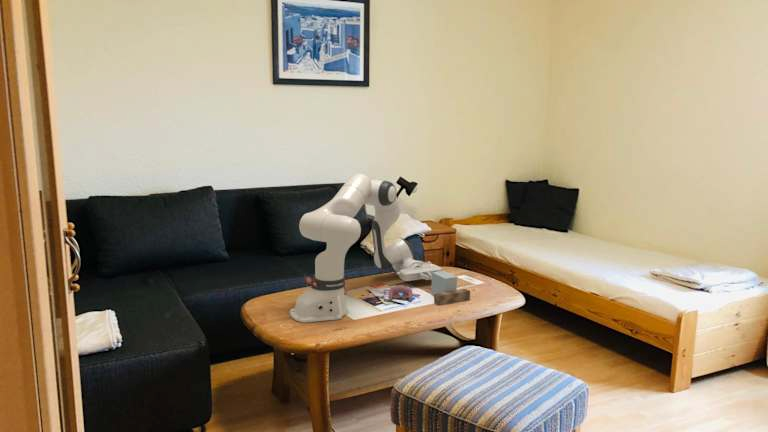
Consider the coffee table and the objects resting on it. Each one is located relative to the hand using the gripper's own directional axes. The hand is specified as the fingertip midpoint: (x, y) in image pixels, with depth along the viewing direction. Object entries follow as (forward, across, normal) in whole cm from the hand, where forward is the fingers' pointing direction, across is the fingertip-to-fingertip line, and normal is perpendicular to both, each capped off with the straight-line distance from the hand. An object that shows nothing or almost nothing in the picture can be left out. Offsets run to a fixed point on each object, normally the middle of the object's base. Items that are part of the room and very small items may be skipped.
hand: (429, 277), depth 253 cm
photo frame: (-3, +19, +6) cm, 20 cm away
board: (+18, 0, +5) cm, 19 cm away
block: (+11, 0, +5) cm, 13 cm away
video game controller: (+6, -18, +6) cm, 20 cm away
